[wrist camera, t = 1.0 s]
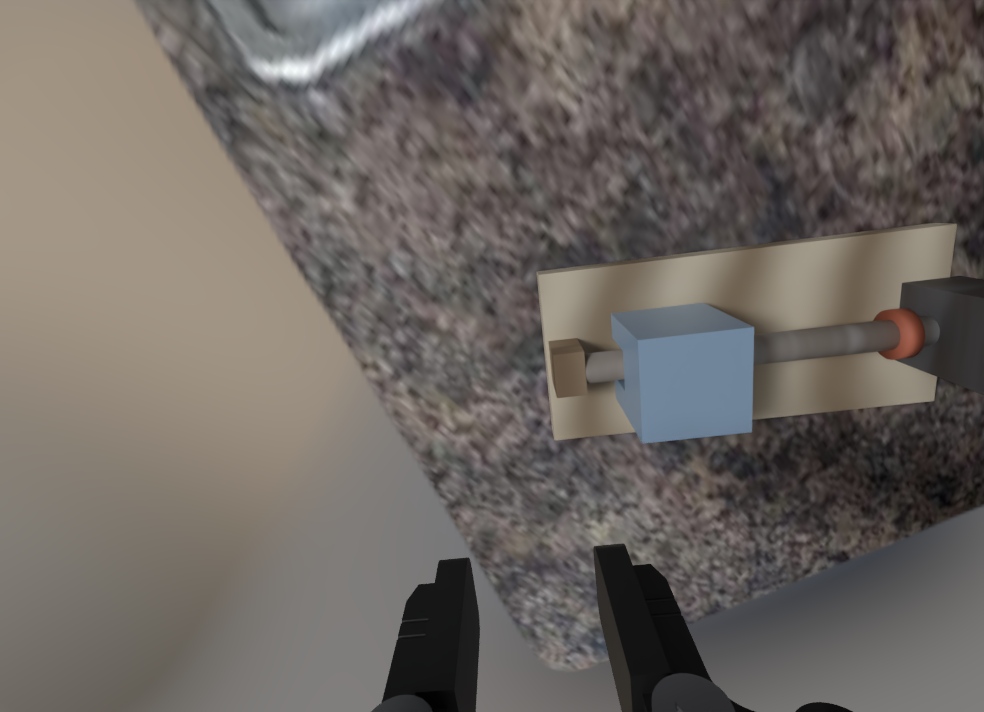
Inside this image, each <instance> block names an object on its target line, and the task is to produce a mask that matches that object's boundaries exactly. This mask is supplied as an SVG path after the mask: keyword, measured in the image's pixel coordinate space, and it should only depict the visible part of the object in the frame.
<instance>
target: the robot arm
mask: <svg viewBox="0 0 984 712" xmlns="http://www.w3.org/2000/svg"><path fill="white" fill-rule="evenodd" d="M594 562H595V575H596V587H597V599H598V607H599V614H600V620H601V625H602V629H603V634H604V638H605V642H606V646H607V651H608V655H609V659H610V663H611V667H612V672H613V676H614V680H615V684H616V689H617V693H618V697H619V701H620V705H621V710H622V712H754V711H751V710H749V709H747V708H744V707H742V706H740V705H738V704H737V703H735V702H733V701H732V700H730V699H729V698H728V697H727V695H726V694H725V693H724V692H723V691H722V690H721V689H720V688H719V687H718V686H716V685H715V684H714V683H713V682H712V680H711V679H710V677H709V675H708V673H707V671H706V668H705V666H704V664H703V661H702V659H701V657H700V655H699V653H698V650H697V648H696V646H695V643H694V641H693V639H692V636H691V634H690V632H689V630H688V627H687V625H686V623H685V620H684V618H683V616H681V611H680V609H679V607H678V605H677V602H676V601H675V599H674V595H673V593H672V591H671V589H670V586H669V584H668V582H667V579H666V578H665V577H664V576H663V575H662V574H661V573H659V572H658V571H657V570H656V569H655V568H654V567H653V566H652V565H651V564H645V565H634V566H633V565H632V563H631V560H630V557H629V554H628V552H627V549H626V546H625V544H614V545H603V546H594ZM479 638H480V627H479V612H478V605H477V598H476V592H475V586H474V580H473V574H472V568H471V562H470V559H469V558H459V559H448V560H440V561H439V563H438V568H437V574H436V579H435V583H430V584H420V585H418V587H417V588H416V589H415V591H414V592H413V593H412V595H411V596H410V597H409V599H408V600H407V602H406V606H405V610H404V614H403V618H402V624H401V626H400V630H399V634H398V640H397V643H396V647H395V651H394V655H393V659H392V663H391V668H390V671H389V676H388V680H387V684H386V688H385V692H384V696H383V700H382V703H381V704H379V705H378V706H377V707H376V708H375V709H373V710H372V712H476V694H477V676H478V657H479ZM796 712H852V711H850V710H848V709H846V708H843V707H840V706H838V705H834V704H830V703H822V702H816V703H809V704H806V705H804V706H801V707H800V708H799V709H798V710H797V711H796Z"/></svg>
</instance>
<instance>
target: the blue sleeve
mask: <svg viewBox="0 0 984 712" xmlns="http://www.w3.org/2000/svg"><path fill="white" fill-rule="evenodd" d="M611 326H612V338H613V340H614V341H615V342H616V343H617V344H618V346H619V347H620V348H621V349H622V350H623V363H624V380H615V393H616V399H617V401H618V403H619V404H620V406H621V408H622V410H623V411H624V413H625V415H626V416H627V418H628V420H629V421H630V423H631V425H632V427H633V428H634V430H635V432H636V433H637V435H638V437H639V438H640V440H641V442H642V443H651V442H661V441H671V440H681V439H690V438H700V437H710V436H720V435H729V434H739V433H749V432H752V407H753V361H754V327H753V326H751V325H749V324H747V323H745V322H743V321H741V320H739V319H736V318H734V317H732V316H730V315H728V314H726V313H724V312H722V311H720V310H718V309H716V308H713V307H711V306H709V305H707V304H705V303H696V304H687V305H679V306H670V307H662V308H653V309H644V310H636V311H627V312H619V313H611Z"/></svg>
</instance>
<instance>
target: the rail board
mask: <svg viewBox="0 0 984 712" xmlns="http://www.w3.org/2000/svg"><path fill="white" fill-rule="evenodd" d="M956 227H957V224H945V223H930V224H922V225H913V226H905V227H897V228H889V229H881V230H873V231H864V232H856V233H848V234H840V235H832V236H824V237H815V238H807V239H799V240H791V241H783V242H775V243H766V244H758V245H750V246H742V247H734V248H725V249H717V250H709V251H701V252H693V253H685V254H676V255H668V256H660V257H652V258H644V259H636V260H627V261H619V262H611V263H603V264H595V265H587V266H578V267H570V268H562V269H554V270H546V271H537V281H538V291H539V301H540V311H541V321H542V331H543V341H544V351H545V361H546V371H547V381H548V392H549V402H550V412H551V422H552V431H553V435H554V440H563V439H572V438H582V437H591V436H601V435H611V434H620V433H630V432H635V430H634V428H633V427H632V425H631V423H630V421H629V420H628V418H627V416H626V415H625V413H624V411H623V410H622V408H621V406H620V404H619V403H618V401H617V399H616V393H615V380H624V363H623V350H622V349H621V348H620V347H619V346H618V344H617V343H616V342H615V341H614V340H613V338H612V326H611V313H619V312H627V311H636V310H644V309H653V308H662V307H670V306H679V305H687V304H696V303H705V304H707V305H709V306H711V307H713V308H716V309H718V310H720V311H722V312H724V313H726V314H728V315H730V316H732V317H734V318H736V319H739V320H741V321H743V322H745V323H747V324H749V325H751V326H753V327H754V361H753V407H752V420H755V419H765V418H774V417H784V416H793V415H803V414H813V413H822V412H832V411H842V410H851V409H861V408H870V407H880V406H890V405H899V404H909V403H919V402H928V401H934V397H935V389H936V381H937V377H939V378H942V379H944V380H947V381H949V382H952V383H954V384H957V385H959V386H962V387H965V388H967V389H970V390H972V391H975V392H977V393H980V394H982V395H984V280H982V279H976V278H969V277H963V276H956V277H950V273H951V265H952V258H953V250H954V242H955V234H956Z"/></svg>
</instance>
